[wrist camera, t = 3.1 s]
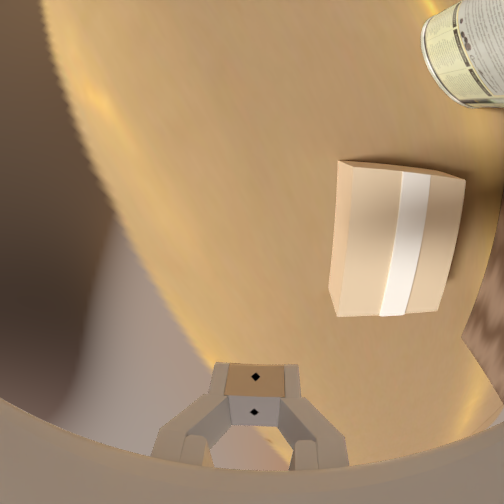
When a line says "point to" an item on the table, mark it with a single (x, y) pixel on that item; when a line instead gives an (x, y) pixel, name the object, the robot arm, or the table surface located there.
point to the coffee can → (467, 52)
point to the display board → (490, 315)
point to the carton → (392, 238)
